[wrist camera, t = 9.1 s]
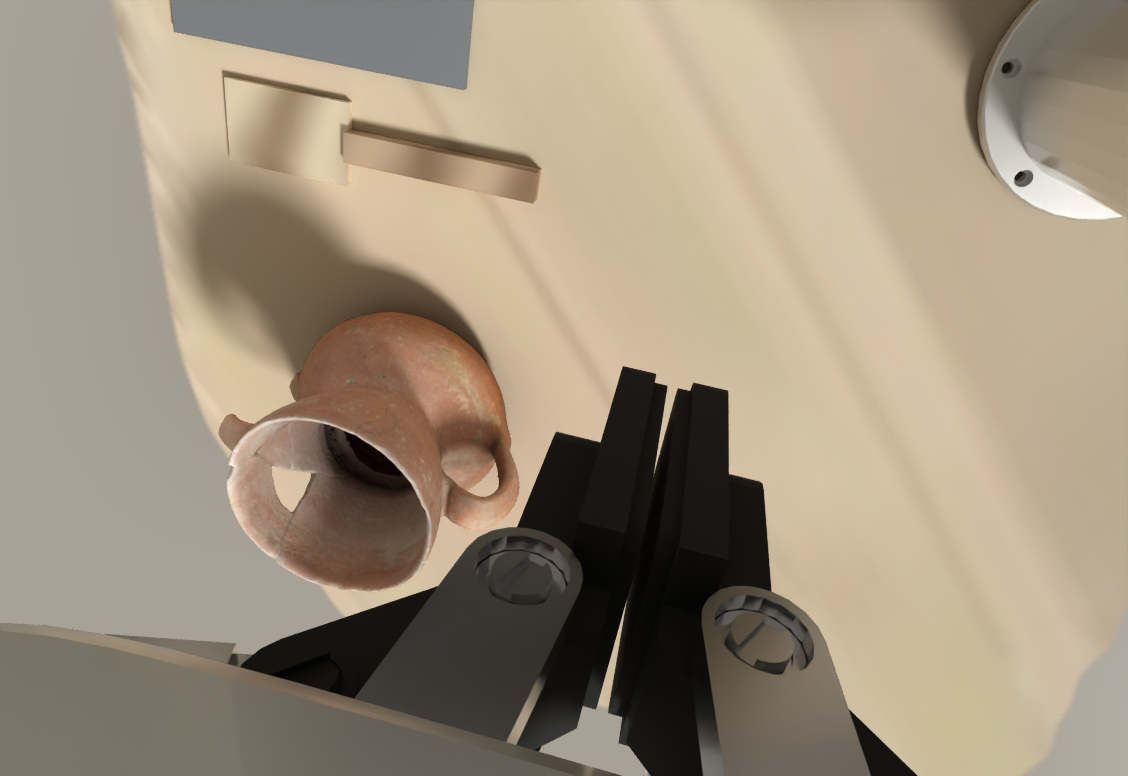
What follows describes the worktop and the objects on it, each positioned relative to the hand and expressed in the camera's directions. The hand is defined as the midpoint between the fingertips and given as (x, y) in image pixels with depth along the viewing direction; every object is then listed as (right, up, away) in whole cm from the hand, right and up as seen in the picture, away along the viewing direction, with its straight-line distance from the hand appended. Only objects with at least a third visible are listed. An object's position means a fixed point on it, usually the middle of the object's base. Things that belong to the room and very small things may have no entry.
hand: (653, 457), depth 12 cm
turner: (-13, +16, +33) cm, 39 cm away
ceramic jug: (-11, +1, +41) cm, 42 cm away
